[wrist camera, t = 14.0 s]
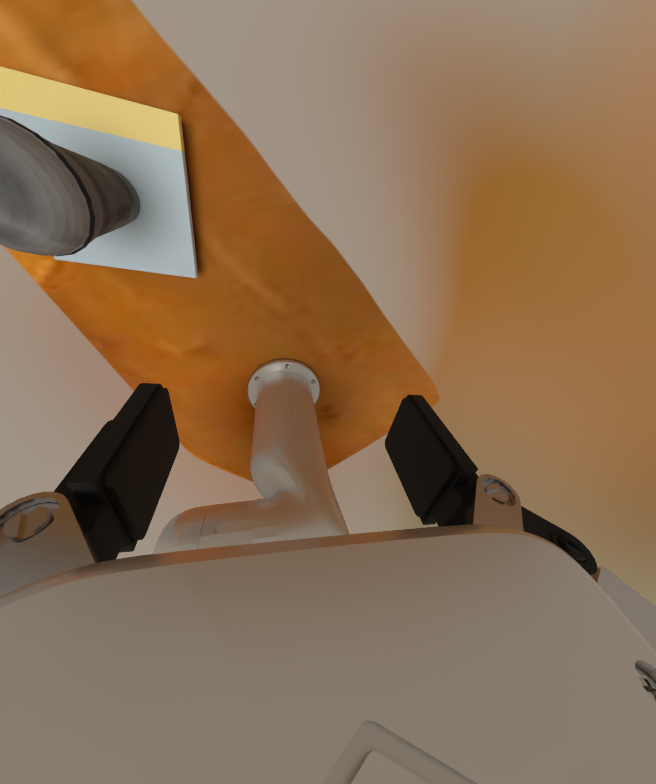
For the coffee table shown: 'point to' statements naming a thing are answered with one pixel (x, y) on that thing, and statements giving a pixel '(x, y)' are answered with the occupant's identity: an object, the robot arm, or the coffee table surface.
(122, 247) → the plate
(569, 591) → the robot arm
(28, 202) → the beverage cup
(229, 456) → the coffee table surface
